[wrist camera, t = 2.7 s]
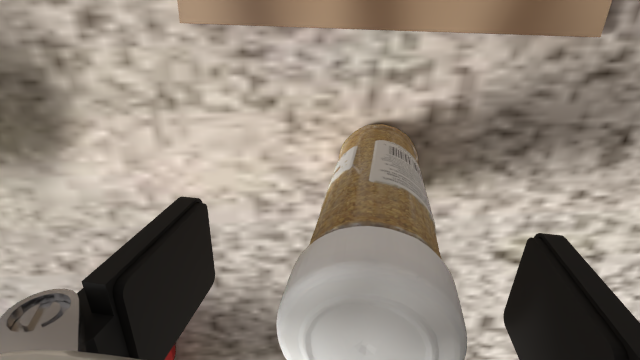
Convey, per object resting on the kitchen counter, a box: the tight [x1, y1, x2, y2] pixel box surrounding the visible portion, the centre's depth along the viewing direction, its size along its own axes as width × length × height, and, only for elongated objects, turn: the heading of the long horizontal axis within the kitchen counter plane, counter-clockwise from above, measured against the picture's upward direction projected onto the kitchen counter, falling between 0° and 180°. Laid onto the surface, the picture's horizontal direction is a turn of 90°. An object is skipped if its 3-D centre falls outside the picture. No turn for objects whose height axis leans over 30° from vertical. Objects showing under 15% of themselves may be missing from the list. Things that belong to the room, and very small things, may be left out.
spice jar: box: [276, 124, 467, 360], centre depth 14 cm, size 5×5×14 cm
